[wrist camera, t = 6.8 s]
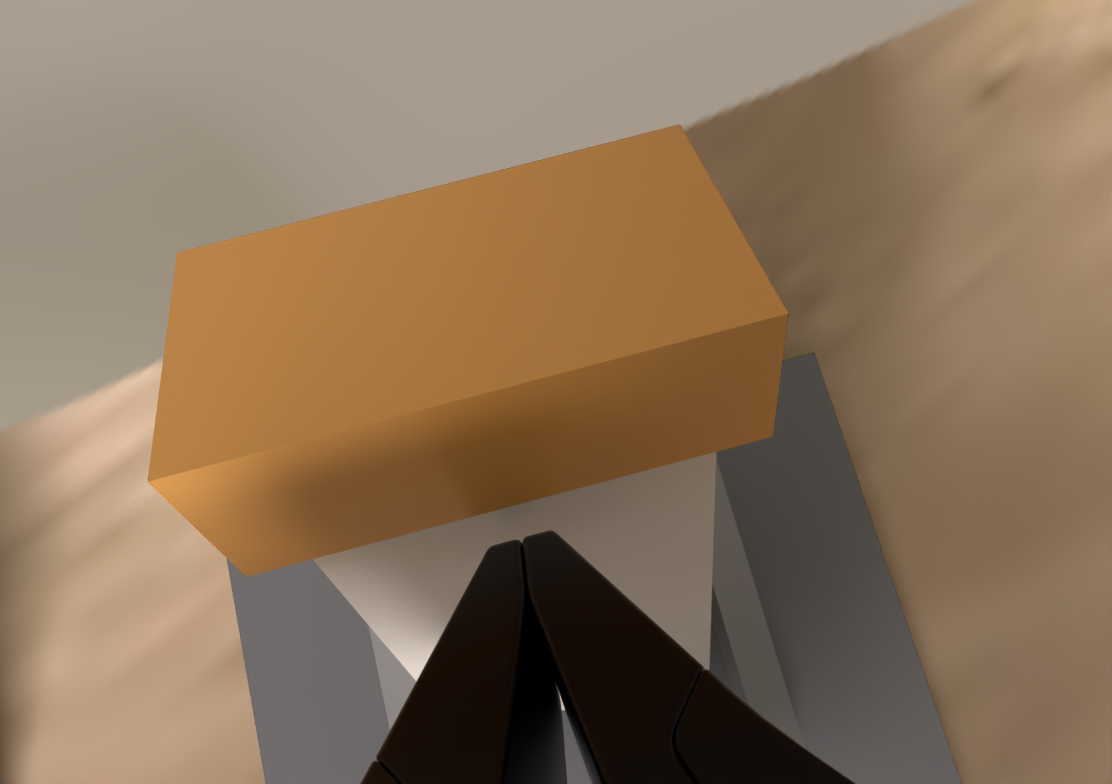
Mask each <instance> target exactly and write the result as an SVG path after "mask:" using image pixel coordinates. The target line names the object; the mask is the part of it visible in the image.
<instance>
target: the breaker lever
mask: <svg viewBox="0 0 1112 784" xmlns="http://www.w3.org/2000/svg"><path fill="white" fill-rule="evenodd" d="M788 314H789V313H788V312H787V310H786V308H785V306H784V305H783V303H782V301H781V299H780V298H779V296H778V294H777V292H776V291H775V289H774V287H773V285H772V284H771V282H770V280H769V279H768V277H767V275H766V273H765V272H764V270H763V268H762V266H761V265H760V263H759V261H758V259H757V258H756V256H755V254H754V252H753V251H752V249H751V247H750V245H749V244H748V242H747V240H746V238H745V237H744V235H743V233H742V231H741V230H740V228H739V226H738V225H737V223H736V221H735V219H734V218H733V216H732V214H731V212H730V211H729V209H728V207H727V205H726V204H725V202H724V200H723V198H722V197H721V195H720V193H719V191H718V190H717V188H716V186H715V184H714V183H713V181H712V179H711V178H710V176H709V174H708V172H707V171H706V169H705V167H704V165H703V164H702V162H701V160H700V158H699V157H698V155H697V153H696V151H695V150H694V148H693V146H692V144H691V143H690V141H689V139H688V137H687V136H686V134H685V132H684V131H683V129H682V127H681V125H676V126H672V127H668V128H664V129H660V130H656V131H652V132H648V133H644V134H640V135H637V136H633V137H629V138H625V139H621V140H617V141H614V142H609V143H605V144H602V145H597V146H594V147H590V148H586V149H582V150H578V151H574V152H570V153H566V154H562V155H559V156H555V157H551V158H547V159H543V160H539V161H535V162H531V163H527V164H523V165H519V166H515V167H511V168H507V169H503V170H500V171H496V172H492V173H488V174H484V175H480V176H476V177H472V178H468V179H464V180H461V181H456V182H452V183H449V184H445V185H441V186H437V187H433V188H429V189H425V190H421V191H417V192H413V193H409V194H406V195H402V196H398V197H394V198H390V199H386V200H382V201H378V202H374V203H370V204H366V205H363V206H359V207H355V208H351V209H347V210H343V211H339V212H335V213H331V214H327V215H323V216H319V217H316V218H312V219H308V220H304V221H300V222H296V223H292V224H288V225H284V226H280V227H277V228H272V229H268V230H265V231H261V232H257V233H253V234H249V235H245V236H241V237H237V238H233V239H229V240H225V241H221V242H218V243H214V244H210V245H206V246H202V247H198V248H194V249H190V250H186V251H182V252H179V253H177V257H176V266H175V273H174V281H173V289H172V297H171V304H170V313H169V321H168V327H167V335H166V343H165V351H164V359H163V366H162V374H161V382H160V390H159V397H158V405H157V413H156V421H155V429H154V436H153V444H152V452H151V460H150V468H149V475H148V483H150V484H151V485H152V486H153V487H154V488H155V489H156V490H157V491H158V492H159V493H160V494H161V495H162V496H163V497H164V498H165V499H166V500H167V501H168V502H169V503H170V504H171V505H172V506H173V507H174V508H175V509H176V510H177V511H179V512H180V513H181V514H182V515H183V516H184V517H185V518H186V519H187V520H188V521H189V522H190V523H191V524H192V525H193V526H194V527H195V528H196V529H197V530H198V531H199V532H200V533H201V534H202V535H203V536H204V537H205V538H206V539H208V540H209V541H210V542H211V543H212V544H213V545H214V546H215V547H216V548H217V549H218V550H219V551H220V552H221V553H222V554H223V555H224V556H225V557H226V558H227V559H228V560H229V561H230V562H231V563H232V564H233V565H234V566H235V567H237V568H238V569H239V570H240V571H241V572H242V573H243V574H244V575H245V576H246V577H248V576H252V575H256V574H259V573H263V572H267V571H271V570H274V569H278V568H282V567H286V566H289V565H293V564H297V563H301V562H304V561H308V560H312V559H313V560H314V562H315V563H316V564H317V565H318V566H319V568H320V569H321V570H322V571H323V572H324V573H325V575H326V576H327V577H328V578H329V579H330V580H331V582H332V583H333V584H334V585H335V586H336V588H337V589H338V590H339V591H340V592H341V593H342V595H343V596H344V597H345V598H346V599H347V600H348V602H349V603H350V604H351V605H352V606H353V608H354V609H355V610H356V611H357V612H358V613H359V615H360V616H361V617H362V618H363V619H364V620H365V622H366V623H367V624H368V625H369V626H370V628H371V629H372V630H373V631H374V632H375V633H376V635H377V636H378V637H379V638H380V639H381V640H382V642H383V643H384V644H385V645H386V646H387V648H388V649H389V650H390V651H391V652H392V653H393V655H394V656H395V657H396V658H397V659H398V660H399V662H400V663H401V664H402V665H403V666H404V668H405V669H406V670H407V671H408V672H409V673H410V675H411V676H412V677H413V678H414V679H415V680H416V681H417V679H418V677H419V676H420V674H421V672H422V670H423V668H424V666H425V664H426V663H427V661H428V659H429V657H430V655H431V653H432V651H433V650H434V648H435V646H436V644H437V642H438V640H439V638H440V636H441V635H442V633H443V631H444V629H445V627H446V625H447V623H448V622H449V620H450V618H451V616H452V614H453V612H454V610H455V609H456V607H457V605H458V603H459V601H460V599H461V597H462V596H463V594H464V592H465V590H466V588H467V586H468V584H469V583H470V581H471V579H472V577H473V575H474V573H475V571H476V570H477V568H478V566H479V564H480V562H481V560H482V558H483V557H484V555H485V553H486V551H487V550H488V548H489V547H490V546H493V545H496V544H500V543H504V542H507V541H511V540H516V539H517V540H520V541H521V543H522V542H523V539H524V538H525V537H526V536H530V535H533V534H537V533H541V532H545V531H548V530H552V531H554V532H556V533H557V534H558V535H559V536H561V537H562V538H563V539H564V540H565V541H566V542H567V543H568V544H569V545H570V546H572V547H573V548H574V549H575V550H576V551H577V552H578V553H579V554H580V555H581V556H583V557H584V558H585V559H586V560H587V561H588V562H589V563H590V564H591V565H592V566H594V567H595V568H596V569H597V570H598V571H599V572H600V573H601V574H602V575H603V576H605V577H606V578H607V579H608V580H609V581H610V582H611V583H612V584H613V585H614V586H616V587H617V588H618V589H619V590H620V591H621V592H622V593H623V594H624V595H625V596H627V597H628V598H629V599H630V600H631V601H632V602H633V603H634V604H635V605H636V606H638V607H639V608H640V609H641V610H642V611H643V612H644V613H645V614H646V615H647V616H649V617H650V618H651V619H652V620H653V621H654V622H655V623H656V624H657V625H658V626H660V627H661V628H662V629H663V630H664V631H665V632H666V633H667V634H668V635H669V636H671V637H672V638H673V639H674V640H675V641H676V642H677V643H678V644H679V645H680V646H682V647H683V648H684V649H685V650H686V651H687V652H688V653H689V654H690V655H691V656H693V657H694V658H695V659H696V660H697V661H698V662H699V663H700V664H701V665H702V666H703V667H704V669H707V670H709V667H710V635H711V604H712V572H713V540H714V509H715V477H716V452H717V451H721V450H725V449H728V448H732V447H736V446H740V445H743V444H747V443H751V442H755V441H758V440H762V439H766V438H770V437H773V431H774V423H775V415H776V407H777V400H778V392H779V384H780V376H781V368H782V361H783V353H784V345H785V337H786V330H787V322H788ZM559 695H560V693H559ZM560 701H561V709H562V711H563V710H565V708H564V705H563V702H562V699H561V696H560Z"/></svg>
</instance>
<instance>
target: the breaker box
mask: <svg viewBox="0 0 1112 784" xmlns="http://www.w3.org/2000/svg"><path fill="white" fill-rule="evenodd" d="M227 563H228V569H229V574H230V580H231V586H232V592H233V598H234V603H235V609H236V615H237V621H238V626H239V632H240V638H241V644H242V650H243V655H244V661H245V667H246V673H247V679H248V684H249V690H250V696H251V702H252V707H253V713H254V719H255V725H256V731H257V736H258V742H259V748H260V754H261V759H262V765H263V771H264V777H265V783H266V784H360V783H361V781H362V779H363V777H364V775H365V774H366V772H367V770H368V768H369V766H370V764H371V763H372V762H373V761H376V755H377V754H378V752H379V750H380V748H381V746H382V744H383V742H384V741H385V739H386V737H387V735H388V733H389V731H390V729H391V728H392V726H393V724H394V722H395V720H396V718H397V716H398V715H399V713H400V711H401V709H402V707H403V705H404V703H405V702H406V700H407V698H408V696H409V694H410V692H411V690H412V689H413V687H414V685H415V683H416V680H415V679H414V678H413V677H412V676H411V675H410V673H409V672H408V671H407V670H406V669H405V668H404V666H403V665H402V664H401V663H400V662H399V660H398V659H397V658H396V657H395V656H394V655H393V653H392V652H391V651H390V650H389V649H388V648H387V646H386V645H385V644H384V643H383V642H382V640H381V639H380V638H379V637H378V636H377V635H376V633H375V632H374V631H373V630H372V629H371V628H370V626H369V625H368V624H367V623H366V622H365V620H364V619H363V618H362V617H361V616H360V615H359V613H358V612H357V611H356V610H355V609H354V608H353V606H352V605H351V604H350V603H349V602H348V600H347V599H346V598H345V597H344V596H343V595H342V593H341V592H340V591H339V590H338V589H337V588H336V586H335V585H334V584H333V583H332V582H331V580H330V579H329V578H328V577H327V576H326V575H325V573H324V572H323V571H322V570H321V569H320V568H319V566H318V565H317V564H316V563H315V562H314V560H313V559H312V560H308V561H304V562H301V563H297V564H293V565H289V566H286V567H282V568H278V569H274V570H271V571H267V572H263V573H259V574H256V575H252V576H248V577H246V576H245V575H244V574H243V573H242V572H241V571H240V570H239V569H238V568H237V567H235V566H234V565H233V564H232V563H231V562H230V561H229V560H228V559H227ZM709 671H710V672H711V673H712V674H714V675H715V676H716V677H717V678H718V679H719V680H720V681H721V682H722V683H723V684H725V685H726V686H727V687H728V688H729V689H730V690H731V691H732V692H734V693H735V694H736V695H737V696H738V697H740V698H741V699H742V700H743V701H744V702H746V703H747V704H748V705H749V706H750V707H751V708H753V709H754V710H755V711H756V712H757V713H759V714H760V715H761V716H762V717H763V718H765V719H766V720H767V721H769V722H770V723H771V724H773V725H774V726H776V727H777V728H778V729H780V730H781V731H782V732H784V733H785V734H786V735H788V736H789V737H790V738H792V739H793V740H795V741H796V742H797V743H799V744H800V745H801V746H803V747H804V748H805V749H807V750H808V751H810V752H811V753H813V754H814V755H816V756H817V757H818V758H820V759H821V760H823V761H824V762H826V763H827V764H829V765H830V766H831V767H833V768H834V769H836V770H837V771H839V772H840V773H842V774H843V775H844V776H846V777H847V778H849V779H850V780H852V781H853V782H855V783H856V784H962V783H961V780H960V777H959V775H958V772H957V769H956V766H955V763H954V760H953V757H952V754H951V751H950V748H949V745H948V742H947V739H946V737H945V734H944V731H943V728H942V725H941V722H940V719H939V716H938V713H937V710H936V707H935V704H934V701H933V698H932V696H931V693H930V690H929V687H928V684H927V681H926V678H925V675H924V672H923V669H922V666H921V663H920V660H919V657H918V655H917V652H916V649H915V646H914V643H913V640H912V637H911V634H910V631H909V628H908V625H907V622H906V619H905V616H904V614H903V611H902V608H901V605H900V602H899V599H898V596H897V593H896V590H895V587H894V584H893V581H892V578H891V575H890V573H889V570H888V567H887V564H886V561H885V558H884V555H883V552H882V549H881V546H880V543H879V540H878V537H877V534H876V532H875V529H874V526H873V523H872V520H871V517H870V514H869V511H868V508H867V505H866V502H865V499H864V496H863V494H862V491H861V488H860V485H859V482H858V479H857V476H856V473H855V470H854V467H853V464H852V461H851V458H850V455H849V453H848V450H847V447H846V444H845V441H844V438H843V435H842V432H841V429H840V426H839V423H838V420H837V417H836V414H835V412H834V409H833V406H832V403H831V400H830V397H829V394H828V391H827V388H826V385H825V382H824V379H823V376H822V373H821V371H820V368H819V365H818V362H817V359H816V356H815V353H814V352H813V353H810V354H806V355H802V356H798V357H794V358H791V359H787V360H783V361H782V368H781V376H780V384H779V392H778V400H777V407H776V415H775V423H774V431H773V437H770V438H766V439H762V440H758V441H755V442H751V443H747V444H743V445H740V446H736V447H732V448H728V449H725V450H721V451H717V452H716V477H715V509H714V540H713V572H712V604H711V635H710V667H709ZM562 718H563V731H564V744H565V757H566V771H567V784H592V783H591V780H590V778H589V775H588V772H587V769H586V767H585V764H584V761H583V758H582V756H581V753H580V750H579V747H578V745H577V742H576V739H575V737H574V734H573V731H572V728H571V726H570V723H569V720H568V717H567V714H566V711H565V710H563V711H562Z"/></svg>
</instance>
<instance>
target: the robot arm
mask: <svg viewBox="0 0 1112 784" xmlns="http://www.w3.org/2000/svg"><path fill="white" fill-rule="evenodd" d="M559 693H560V695H559ZM560 696H561V699H562V702H563V705H564V708H565V711H566V714H567V717H568V720H569V723H570V726H571V728H572V731H573V734H574V737H575V739H576V742H577V745H578V747H579V750H580V753H581V756H582V758H583V761H584V764H585V767H586V769H587V772H588V775H589V778H590V780H591V783H592V784H856V783H855V782H853V781H852V780H850V779H849V778H847V777H846V776H844V775H843V774H842V773H840V772H839V771H837V770H836V769H834V768H833V767H831V766H830V765H829V764H827V763H826V762H824V761H823V760H821V759H820V758H818V757H817V756H816V755H814V754H813V753H811V752H810V751H808V750H807V749H805V748H804V747H803V746H801V745H800V744H799V743H797V742H796V741H795V740H793V739H792V738H790V737H789V736H788V735H786V734H785V733H784V732H782V731H781V730H780V729H778V728H777V727H776V726H774V725H773V724H771V723H770V722H769V721H767V720H766V719H765V718H763V717H762V716H761V715H760V714H759V713H757V712H756V711H755V710H754V709H753V708H751V707H750V706H749V705H748V704H747V703H746V702H744V701H743V700H742V699H741V698H740V697H738V696H737V695H736V694H735V693H734V692H732V691H731V690H730V689H729V688H728V687H727V686H726V685H725V684H723V683H722V682H721V681H720V680H719V679H718V678H717V677H716V676H715V675H714V674H712V673H711V672H710V671H709V670H707V669H704V667H703V666H702V665H701V664H700V663H699V662H698V661H697V660H696V659H695V658H694V657H693V656H691V655H690V654H689V653H688V652H687V651H686V650H685V649H684V648H683V647H682V646H680V645H679V644H678V643H677V642H676V641H675V640H674V639H673V638H672V637H671V636H669V635H668V634H667V633H666V632H665V631H664V630H663V629H662V628H661V627H660V626H658V625H657V624H656V623H655V622H654V621H653V620H652V619H651V618H650V617H649V616H647V615H646V614H645V613H644V612H643V611H642V610H641V609H640V608H639V607H638V606H636V605H635V604H634V603H633V602H632V601H631V600H630V599H629V598H628V597H627V596H625V595H624V594H623V593H622V592H621V591H620V590H619V589H618V588H617V587H616V586H614V585H613V584H612V583H611V582H610V581H609V580H608V579H607V578H606V577H605V576H603V575H602V574H601V573H600V572H599V571H598V570H597V569H596V568H595V567H594V566H592V565H591V564H590V563H589V562H588V561H587V560H586V559H585V558H584V557H583V556H581V555H580V554H579V553H578V552H577V551H576V550H575V549H574V548H573V547H572V546H570V545H569V544H568V543H567V542H566V541H565V540H564V539H563V538H562V537H561V536H559V535H558V534H557V533H556V532H554V531H552V530H548V531H545V532H541V533H537V534H533V535H530V536H526V537H525V538H524V539H523V542H522V543H521V541H520V540H517V539H516V540H511V541H507V542H504V543H500V544H496V545H493V546H490V547H489V548H488V550H487V551H486V553H485V555H484V557H483V558H482V560H481V562H480V564H479V566H478V568H477V570H476V571H475V573H474V575H473V577H472V579H471V581H470V583H469V584H468V586H467V588H466V590H465V592H464V594H463V596H462V597H461V599H460V601H459V603H458V605H457V607H456V609H455V610H454V612H453V614H452V616H451V618H450V620H449V622H448V623H447V625H446V627H445V629H444V631H443V633H442V635H441V636H440V638H439V640H438V642H437V644H436V646H435V648H434V650H433V651H432V653H431V655H430V657H429V659H428V661H427V663H426V664H425V666H424V668H423V670H422V672H421V674H420V676H419V677H418V679H417V681H416V683H415V685H414V687H413V689H412V690H411V692H410V694H409V696H408V698H407V700H406V702H405V703H404V705H403V707H402V709H401V711H400V713H399V715H398V716H397V718H396V720H395V722H394V724H393V726H392V728H391V729H390V731H389V733H388V735H387V737H386V739H385V741H384V742H383V744H382V746H381V748H380V750H379V752H378V754H377V755H376V761H373V762H372V763H371V764H370V766H369V768H368V770H367V772H366V774H365V775H364V777H363V779H362V781H361V783H360V784H567V771H566V757H565V744H564V731H563V718H562V709H561V701H560Z"/></svg>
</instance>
